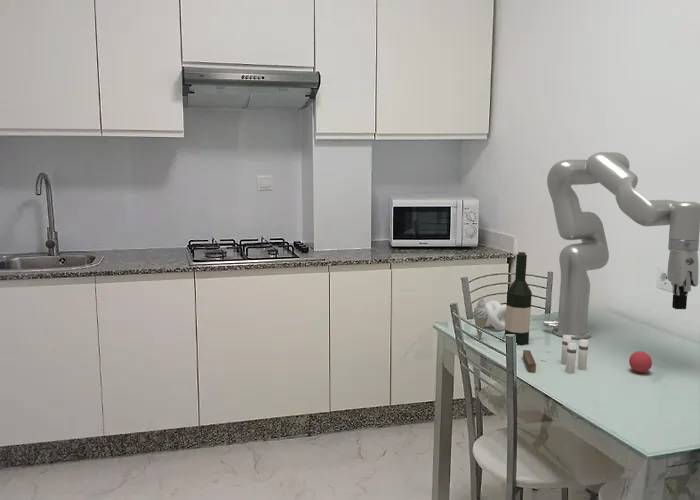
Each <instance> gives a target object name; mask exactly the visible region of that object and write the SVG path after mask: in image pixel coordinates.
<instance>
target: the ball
mask: <svg viewBox="0 0 700 500" xmlns="http://www.w3.org/2000/svg"><path fill="white" fill-rule="evenodd" d="M652 359H653V358H651V356H650V355H649V353H647V352H644V351H635V352H633V353H632V354H631V355H630V356H629V359H628V365H629V366H630V368H631V369H632V370H633V371H635V372H637V373H640V374H641V373H646V372H649V371H650V370H651V368H652V366H653V360H652Z"/></svg>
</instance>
